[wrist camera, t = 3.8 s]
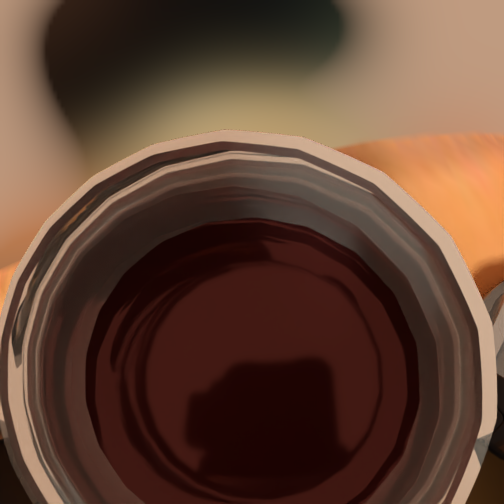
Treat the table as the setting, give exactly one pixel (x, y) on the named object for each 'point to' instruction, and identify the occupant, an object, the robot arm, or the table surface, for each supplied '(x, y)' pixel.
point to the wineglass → (245, 336)
